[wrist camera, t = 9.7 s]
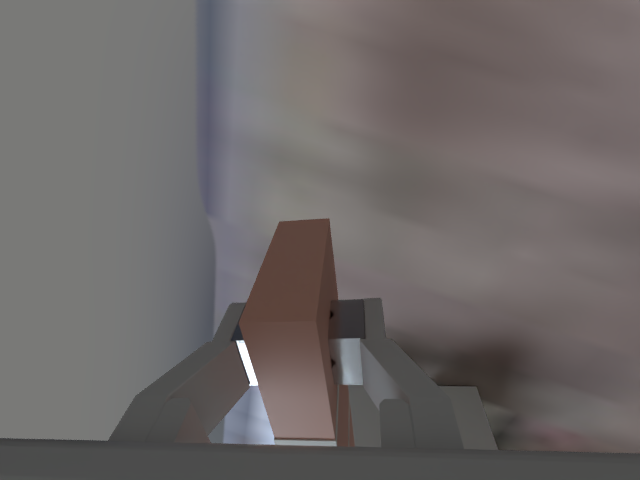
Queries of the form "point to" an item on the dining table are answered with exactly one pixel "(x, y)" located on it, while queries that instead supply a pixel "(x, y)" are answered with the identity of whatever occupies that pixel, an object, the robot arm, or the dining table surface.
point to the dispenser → (464, 406)
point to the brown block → (297, 338)
